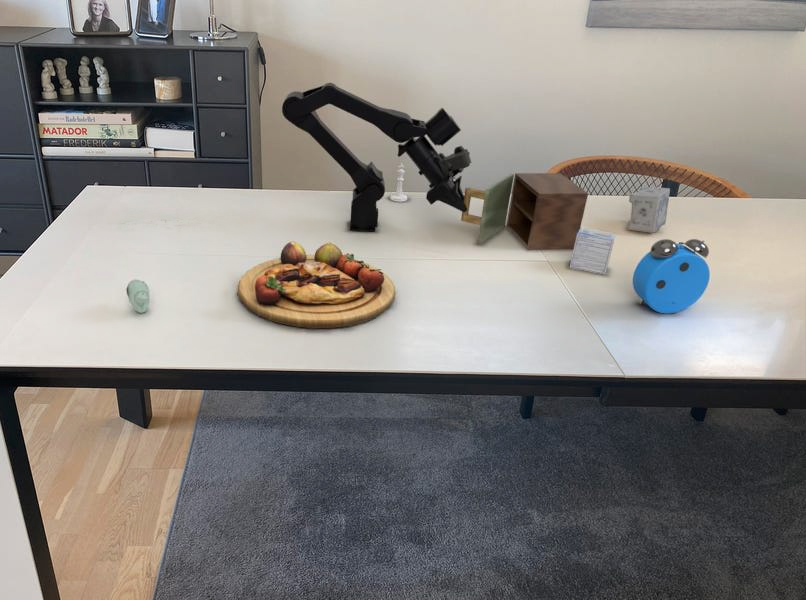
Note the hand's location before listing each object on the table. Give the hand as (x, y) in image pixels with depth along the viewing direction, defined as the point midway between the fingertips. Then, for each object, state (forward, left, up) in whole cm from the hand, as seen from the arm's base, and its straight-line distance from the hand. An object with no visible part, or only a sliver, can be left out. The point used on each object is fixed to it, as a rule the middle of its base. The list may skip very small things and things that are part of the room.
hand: (466, 209), depth 171 cm
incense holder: (+49, +13, -7) cm, 51 cm away
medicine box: (+27, -16, -7) cm, 32 cm away
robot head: (-67, -49, -7) cm, 83 cm away
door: (+5, +4, -7) cm, 9 cm away
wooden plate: (-34, -37, -7) cm, 50 cm away
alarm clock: (+37, -35, -7) cm, 51 cm away
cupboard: (+20, +3, -7) cm, 21 cm away
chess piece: (-15, +27, -7) cm, 32 cm away
